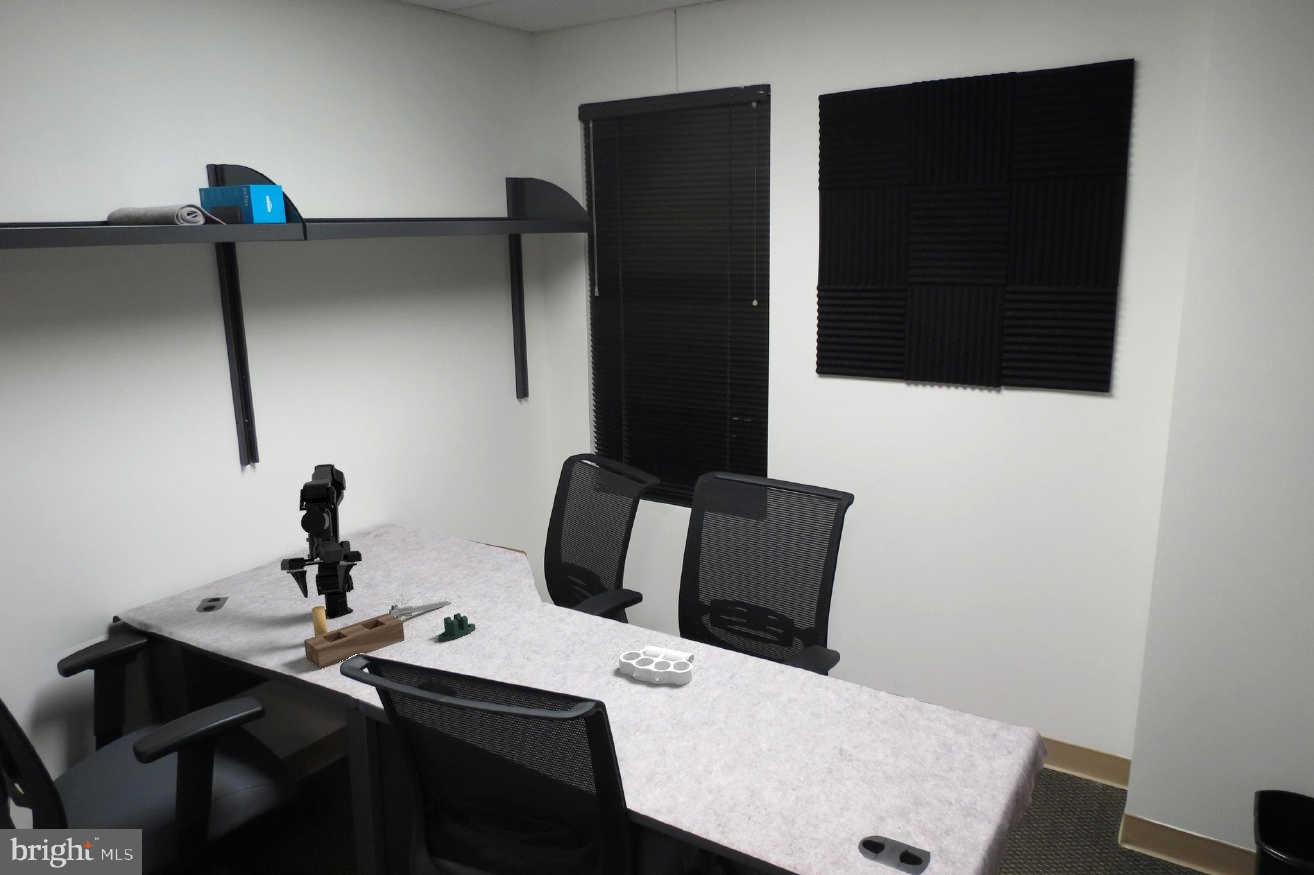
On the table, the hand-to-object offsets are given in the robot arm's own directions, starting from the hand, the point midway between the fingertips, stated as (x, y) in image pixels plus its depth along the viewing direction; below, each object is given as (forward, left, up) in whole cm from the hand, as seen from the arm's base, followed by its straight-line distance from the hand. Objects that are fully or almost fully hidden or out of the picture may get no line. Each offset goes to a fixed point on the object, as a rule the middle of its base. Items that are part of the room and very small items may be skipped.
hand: (324, 595), depth 225 cm
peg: (-2, -1, -13) cm, 13 cm away
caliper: (+2, +25, -13) cm, 28 cm away
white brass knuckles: (+72, +47, -14) cm, 87 cm away
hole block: (+9, +3, -13) cm, 16 cm away
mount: (+20, +25, -13) cm, 34 cm away
